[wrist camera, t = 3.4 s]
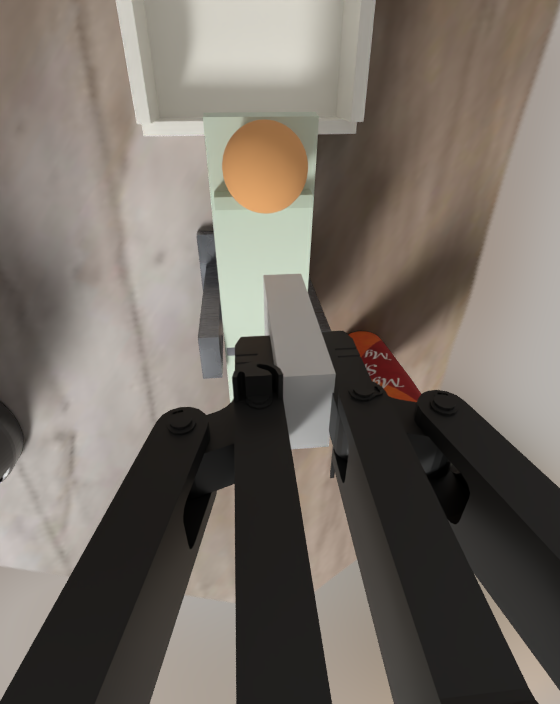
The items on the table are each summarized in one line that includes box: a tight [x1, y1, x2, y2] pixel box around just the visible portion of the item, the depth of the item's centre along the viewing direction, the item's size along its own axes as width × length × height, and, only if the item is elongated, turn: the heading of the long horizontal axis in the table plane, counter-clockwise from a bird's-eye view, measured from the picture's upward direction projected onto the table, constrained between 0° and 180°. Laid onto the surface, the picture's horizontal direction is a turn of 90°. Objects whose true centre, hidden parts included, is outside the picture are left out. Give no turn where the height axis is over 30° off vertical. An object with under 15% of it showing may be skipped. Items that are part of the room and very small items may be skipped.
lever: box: [203, 112, 319, 403], centre depth 27 cm, size 5×21×8 cm, turn 0°
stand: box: [197, 231, 331, 379], centre depth 30 cm, size 9×8×12 cm
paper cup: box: [348, 331, 421, 402], centre depth 35 cm, size 8×8×14 cm
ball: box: [222, 119, 308, 214], centre depth 17 cm, size 4×4×4 cm
